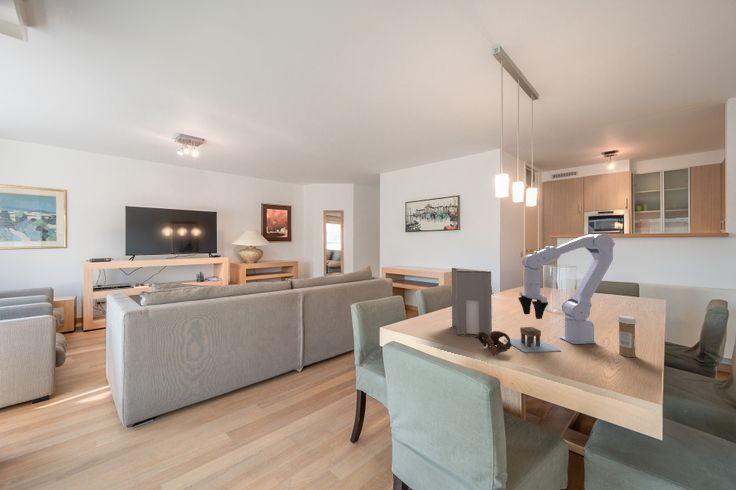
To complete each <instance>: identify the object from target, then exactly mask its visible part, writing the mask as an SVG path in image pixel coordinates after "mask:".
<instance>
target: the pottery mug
mask: <svg viewBox="0 0 736 490" xmlns="http://www.w3.org/2000/svg"><path fill="white" fill-rule="evenodd" d="M503 337H504V339H507V340H508V342H506V343H504V342H502V341H500V338H503ZM476 338H477V339H478V341H479V342H480V343H481V344H482V345H483V347H484V348H485V347H486V346H487V347H486V348H489V347H491V350H490V354H492V355H497V354H499V353H505V352H507V351H509V350H510V349H511V347H513V346H512V345H511V342H510V339H511V338H510V336H509V335H508V334H507V333H505V332H504V331H499V330H492V332H491V333H490V334H486V333H484V332H480V333H479V334H478V336H477V337H476Z"/></svg>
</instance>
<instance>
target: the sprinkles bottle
mask: <svg viewBox="0 0 736 490" xmlns="http://www.w3.org/2000/svg"><path fill="white" fill-rule="evenodd" d="M636 320H637V319H636V318H635V317H634V316H629V315H628V316H627V315H619V316H618V345H619V347H618V349H619V351H618V352H619V355H621V356H623V357H627V358H636V356H637V354H636V346H637V345H636V322H637V321H636Z"/></svg>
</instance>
